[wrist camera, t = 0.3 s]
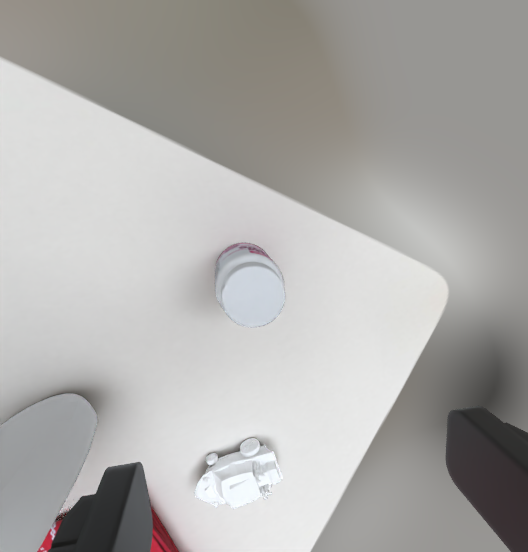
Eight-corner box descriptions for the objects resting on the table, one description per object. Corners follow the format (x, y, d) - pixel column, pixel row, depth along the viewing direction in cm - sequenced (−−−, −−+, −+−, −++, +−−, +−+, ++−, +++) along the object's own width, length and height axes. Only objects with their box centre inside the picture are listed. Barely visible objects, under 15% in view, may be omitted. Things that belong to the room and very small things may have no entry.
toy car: (282, 469, 35) (291, 505, 31) (205, 498, 34) (203, 538, 30) (268, 430, 33) (275, 462, 29) (187, 460, 33) (184, 496, 29)
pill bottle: (269, 240, 29) (291, 257, 21) (272, 294, 30) (293, 330, 22) (212, 243, 29) (212, 262, 21) (216, 298, 30) (218, 338, 22)
